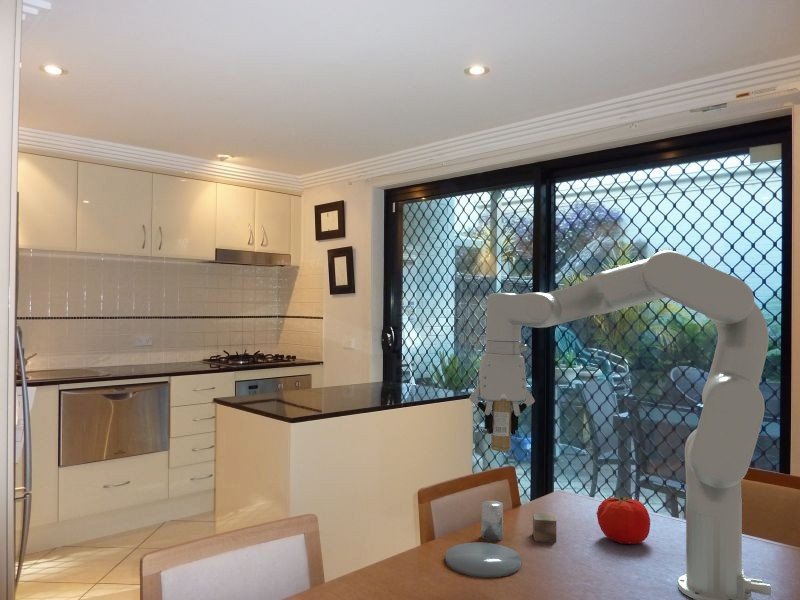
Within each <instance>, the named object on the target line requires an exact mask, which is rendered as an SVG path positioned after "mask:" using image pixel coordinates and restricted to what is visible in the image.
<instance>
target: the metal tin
mask: <svg viewBox="0 0 800 600" xmlns="http://www.w3.org/2000/svg"><path fill="white" fill-rule="evenodd" d="M482 538H483V540H484V539H485V540H484V541H489V542H500V541H502V540H503V539H504V503H503V502H501V501H498V500H484V501H482V502H481V539H482Z"/></svg>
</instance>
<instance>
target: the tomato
mask: <svg viewBox="0 0 800 600" xmlns="http://www.w3.org/2000/svg"><path fill="white" fill-rule="evenodd" d="M633 496H634V495H630V496H628V497H624V496H617V497H615V496H612V497H608V498H605V499H604V500H603V501H601V503H599V505H598V507H597V510H596V517H597V522H598V523H597V524H598V525H599V528H600V530H601V532H602V533H603V535H604V536H605V537H607V538H608V539H609V540H612V541H615V542H617V543H620V544H629V545H636V544H639V543H642V542H644V541H645V540H646V539H647V538H648V536H649V534H650V531H651V530H650V529H651V516H650V514H649V511H648V509H647V508H646V506H645V505H644V504H643V502H641V501H639V500H637V499H632V498H631V497H633Z"/></svg>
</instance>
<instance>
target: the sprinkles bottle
mask: <svg viewBox="0 0 800 600" xmlns="http://www.w3.org/2000/svg"><path fill="white" fill-rule="evenodd" d="M500 398H507V396H506V395H505V394H502V395H501V397H500ZM506 400H507V399H501V400H500V401H493V404H492V408H491V415H492V416H493V421H492V433H491V434H490V435H491V436H490V439H491V440H490V449H491V450H493V451H495V452H510V451H511V450H512V446H511V445H512V444H511V443H512V440H511V439H512V434H511V424H512V421H511V414H512V407H511V405H512V403H511V402H509V401H506Z"/></svg>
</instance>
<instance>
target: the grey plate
mask: <svg viewBox="0 0 800 600" xmlns="http://www.w3.org/2000/svg"><path fill="white" fill-rule="evenodd" d="M445 563H446V565H447V567H449V568H450V569H452V570H453V571H455V572H456V573H457V572H458V573H460V574H462V575H467V576H471V577H477V578H501V576H502V577H506V576H510V575H513V574H514V573H517V572H518V571H519V570H520V569H521V567H522V557H521V555H520V554H519V553H518V552H517V551H516V550H514V549H512V548H509V547H508V546H505V545H502V544H501V545H500V544H497V543H492V542H483V541H482V542H481V541H480V542H478V541H477V542H476V541H475V542H464V543H460V544H455V545H453V546H451V547H449V548H448V549H447V550H446V552H445ZM516 571H517V572H516Z"/></svg>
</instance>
